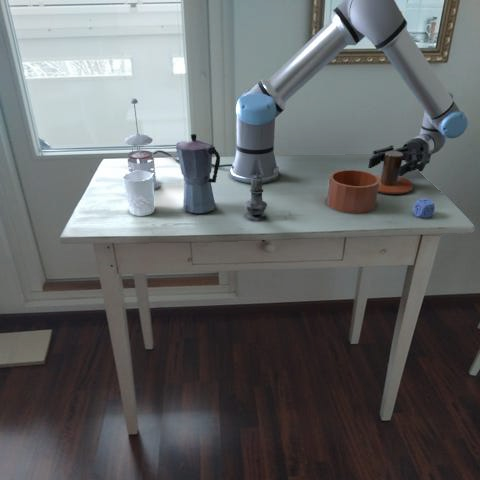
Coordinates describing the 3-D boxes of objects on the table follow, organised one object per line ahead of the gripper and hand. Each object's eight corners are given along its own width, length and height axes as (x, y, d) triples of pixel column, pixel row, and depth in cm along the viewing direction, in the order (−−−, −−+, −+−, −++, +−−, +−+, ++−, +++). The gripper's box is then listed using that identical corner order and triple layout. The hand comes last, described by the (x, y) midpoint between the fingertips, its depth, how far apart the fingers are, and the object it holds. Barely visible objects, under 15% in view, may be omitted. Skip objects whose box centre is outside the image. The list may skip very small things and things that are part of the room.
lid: (355, 187, 149) (360, 154, 142) (377, 174, 158) (383, 143, 151) (399, 199, 141) (406, 165, 135) (420, 185, 150) (428, 152, 144)
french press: (132, 193, 143) (120, 104, 128) (123, 180, 152) (110, 95, 137) (163, 188, 147) (155, 100, 132) (153, 176, 155) (144, 92, 140)
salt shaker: (264, 222, 128) (266, 178, 121) (243, 220, 129) (243, 176, 122) (268, 213, 133) (270, 170, 126) (247, 211, 134) (248, 168, 127)
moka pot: (191, 196, 142) (187, 126, 130) (233, 209, 135) (232, 136, 123) (169, 207, 136) (162, 134, 124) (211, 221, 129) (209, 145, 117)
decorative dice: (411, 213, 134) (415, 199, 131) (424, 211, 135) (427, 197, 132) (420, 219, 131) (423, 205, 128) (432, 217, 131) (436, 203, 129)
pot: (317, 204, 138) (320, 178, 134) (342, 190, 146) (345, 166, 142) (360, 217, 131) (364, 191, 127) (383, 202, 139) (388, 177, 135)
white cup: (131, 205, 137) (126, 170, 131) (158, 205, 137) (155, 170, 131) (125, 216, 130) (119, 180, 125) (154, 217, 130) (150, 181, 124)
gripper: (447, 168, 153) (417, 189, 139) (384, 154, 164) (350, 171, 150) (454, 144, 148) (423, 163, 134) (388, 131, 159) (354, 146, 146)
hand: (385, 167), depth 142 cm, fingers open, 9 cm apart
